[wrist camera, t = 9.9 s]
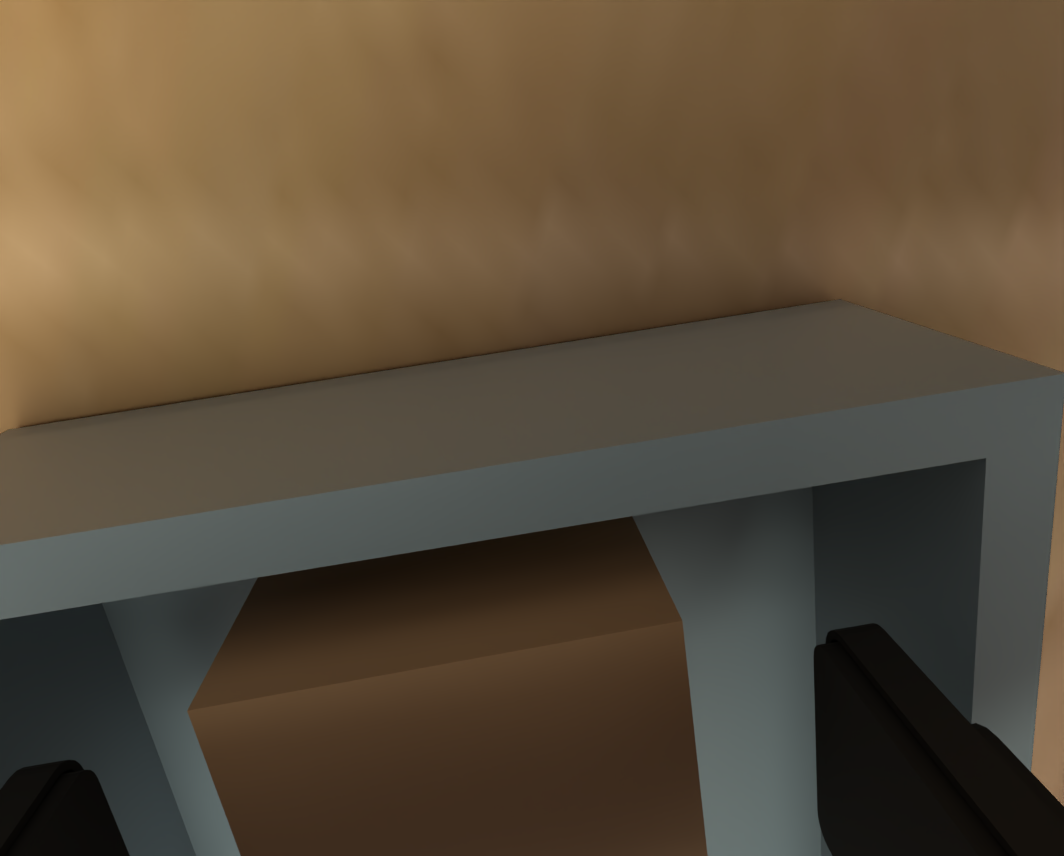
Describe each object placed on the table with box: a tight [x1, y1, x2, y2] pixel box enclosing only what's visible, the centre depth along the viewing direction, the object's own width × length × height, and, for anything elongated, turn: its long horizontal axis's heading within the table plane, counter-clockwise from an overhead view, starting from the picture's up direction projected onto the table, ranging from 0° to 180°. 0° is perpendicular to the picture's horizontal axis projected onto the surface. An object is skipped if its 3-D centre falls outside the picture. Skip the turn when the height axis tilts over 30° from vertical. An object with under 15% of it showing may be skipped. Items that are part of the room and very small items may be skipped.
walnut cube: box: [187, 516, 708, 856], centre depth 11 cm, size 5×5×5 cm
